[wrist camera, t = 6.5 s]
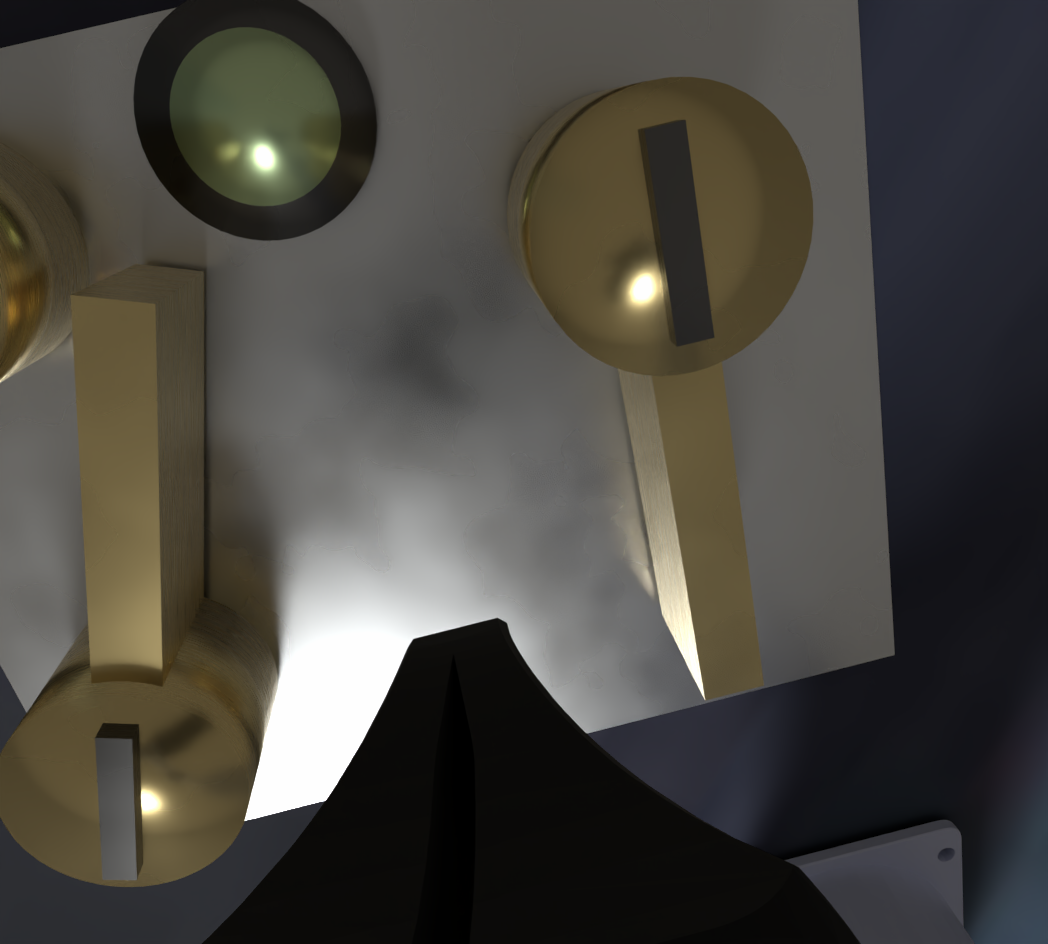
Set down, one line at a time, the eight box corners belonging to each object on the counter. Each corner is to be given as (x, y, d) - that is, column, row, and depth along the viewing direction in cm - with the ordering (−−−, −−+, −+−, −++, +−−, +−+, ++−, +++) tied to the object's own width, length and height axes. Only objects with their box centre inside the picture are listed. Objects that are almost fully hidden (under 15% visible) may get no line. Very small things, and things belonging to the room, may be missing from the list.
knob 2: (482, 118, 15) (503, 114, 12) (718, 63, 16) (812, 42, 12) (595, 632, 20) (635, 747, 16) (779, 586, 20) (861, 690, 16)
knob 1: (274, 762, 20) (242, 905, 16) (74, 756, 19) (-7, 903, 16) (293, 282, 16) (255, 327, 12) (42, 253, 15) (-76, 292, 12)
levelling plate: (871, 628, 22) (1003, 774, 17) (121, 819, 22) (32, 1026, 17) (819, -129, 16) (1006, -249, 11) (-249, 118, 15) (-574, 113, 10)
